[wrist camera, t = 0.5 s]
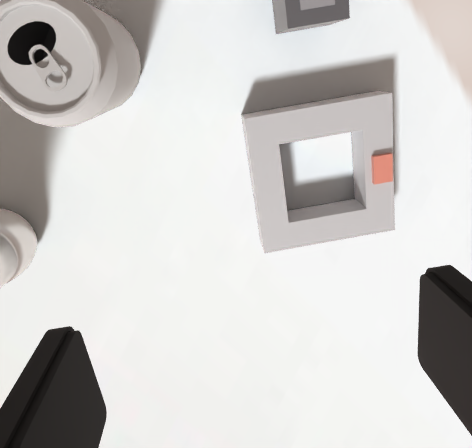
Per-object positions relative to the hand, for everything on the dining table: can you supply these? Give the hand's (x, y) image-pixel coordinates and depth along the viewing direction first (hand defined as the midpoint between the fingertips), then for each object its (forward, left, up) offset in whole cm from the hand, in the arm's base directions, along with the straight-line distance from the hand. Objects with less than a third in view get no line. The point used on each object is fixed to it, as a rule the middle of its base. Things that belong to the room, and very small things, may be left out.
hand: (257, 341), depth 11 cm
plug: (-11, +8, -27) cm, 30 cm away
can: (-9, -9, -27) cm, 30 cm away
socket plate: (+3, +8, -27) cm, 28 cm away
